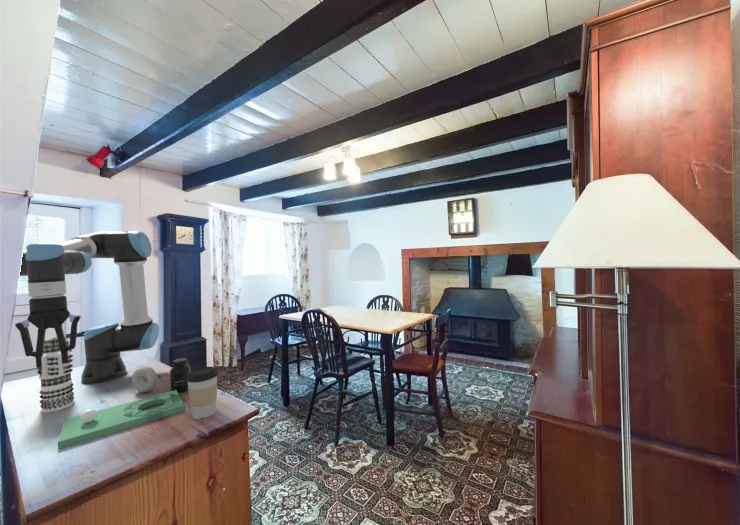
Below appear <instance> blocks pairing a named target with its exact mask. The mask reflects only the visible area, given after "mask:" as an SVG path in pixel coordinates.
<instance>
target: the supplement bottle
mask: <svg viewBox="0 0 740 525" xmlns="http://www.w3.org/2000/svg"><path fill="white" fill-rule="evenodd" d="M190 373H191V365H189V364H188V358H186V357H180V358H176V359H173V360H172V367H171V368H170V372H169V379H170V391H174V390H177V392H178V394H181V393H185V392H187V391H188V381H187V378H188V375H189V374H190Z"/></svg>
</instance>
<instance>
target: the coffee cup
mask: <svg viewBox="0 0 740 525" xmlns="http://www.w3.org/2000/svg"><path fill="white" fill-rule="evenodd" d="M218 375H219V373H218V371H217V369H215V368H214V366H200V367H198V368H197V367H196V368H195V369H192V370H190V374H189V375H188V378H187V381H188V390H187V391H188V396H189V405H190V407H191V415H192V418H193V419H194V418H195V419H194V420H201V419H200V418H204V419H206V418H205V417H208V416H210V415H212V414H213V413H214V414H216V412H217V410H216V409H217V397H218V396H217V394H218ZM215 411H216V412H215ZM214 414H213V415H214ZM213 415H212V416H213ZM210 417H211V416H210ZM208 418H209V417H208Z"/></svg>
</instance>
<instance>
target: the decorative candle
mask: <svg viewBox="0 0 740 525" xmlns="http://www.w3.org/2000/svg"><path fill="white" fill-rule="evenodd" d="M64 337H65V340H66V344H67V346H69V344H70V338H67V336H65V335H64ZM72 351H73V349H71V350H69V351H68V361H67V363H63V369H64V373H63V375H62V376H59V371H58V356H57V354H58V353H59V352H61V350H60V347H59V343H58V339H57V335H55V336H54V335H53V336H50V337H45V340H44V348H43V355H45V354H47V366H48V377H47V379H43V376H42V367H41V368H37V367H36V369H37V370H38V371H36V372H37V374H38V379H39V380H40V391H39V392H38V393H39V394H40V395H39V398H40V401H39V404H40V405H39V406H40V408H41V409H40V412H41V411H42V412H41V413H51V412H52V413H53V412H57V411H60V410H64V409H66V408H68V407H71V406H72V405H74V403H75V400H74V399H75V397H74V395H75V392H74V391H73V390H74V383H73V379H72V378H71V377H72V374H71V373H72V372H73V370H74V369H73V368H72V367H74V365H73V364H71V363H72V362H73V361H74V360H73V358H72V357H73V354H70V353H72Z"/></svg>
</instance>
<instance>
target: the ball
mask: <svg viewBox="0 0 740 525" xmlns="http://www.w3.org/2000/svg"><path fill="white" fill-rule="evenodd" d="M97 411H98V410H97V409H95V408H89V409H86V410H84V411H83V412H81V414H80V415H81V416H80V420H81V422H83V423H90V422H92V421H94V420H95V419H96V417H97V414H98V413H97Z"/></svg>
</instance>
